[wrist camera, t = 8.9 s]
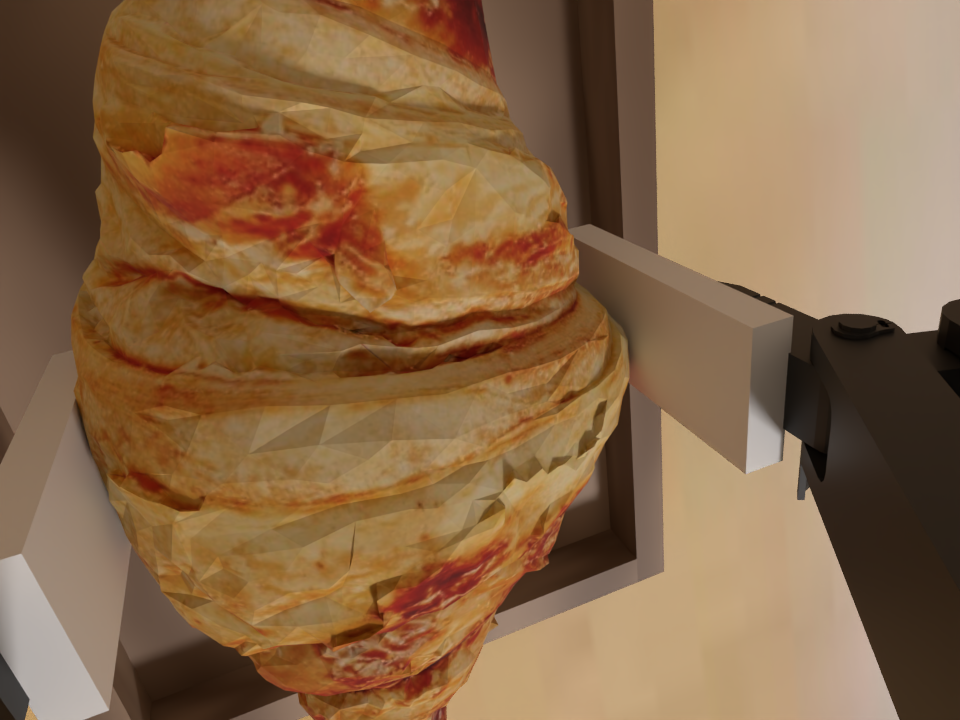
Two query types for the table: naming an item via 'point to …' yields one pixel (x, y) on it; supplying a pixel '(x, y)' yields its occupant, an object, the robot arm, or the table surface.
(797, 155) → the table surface
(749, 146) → the table surface
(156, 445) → the croissant
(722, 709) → the table surface
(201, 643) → the tray
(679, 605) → the table surface
